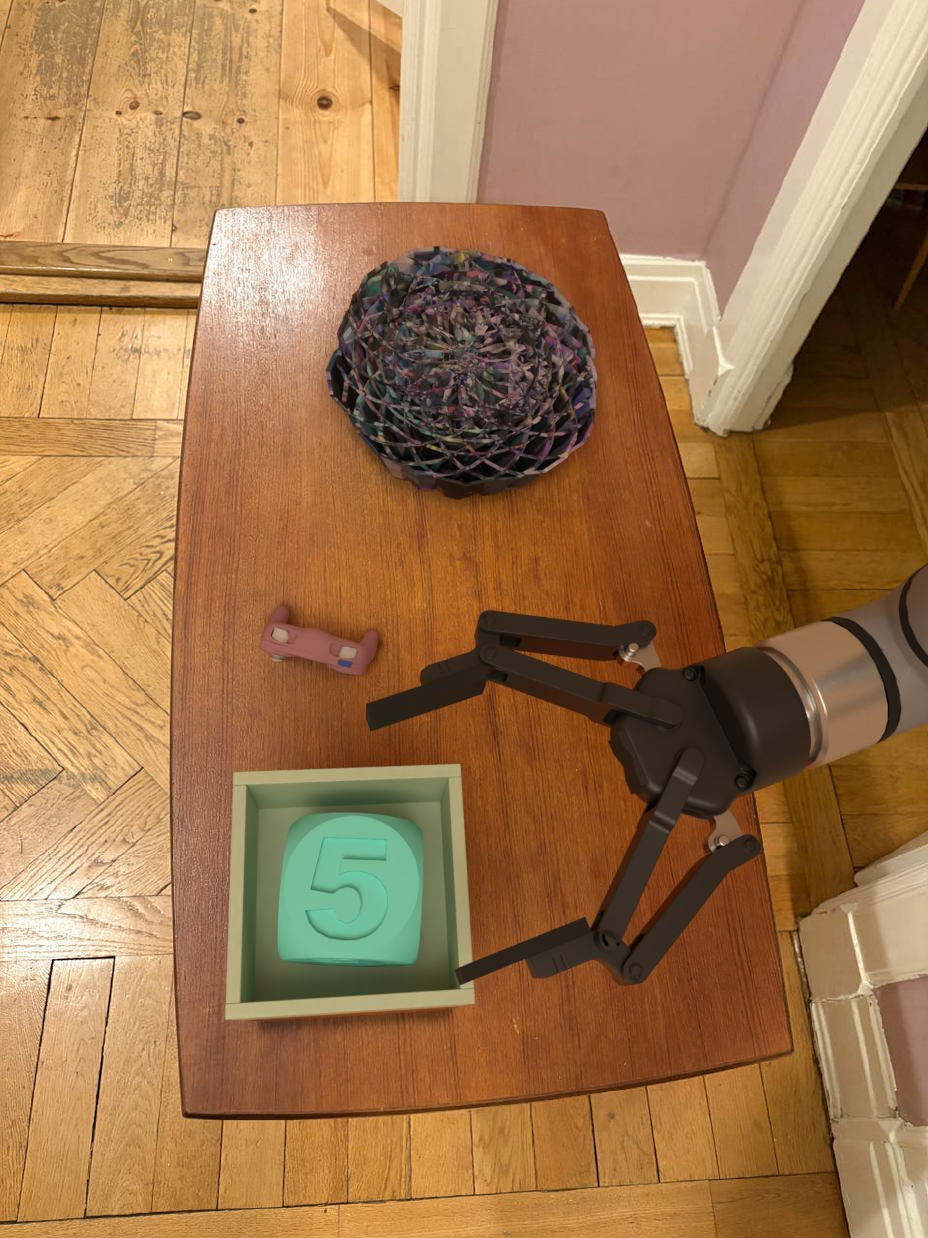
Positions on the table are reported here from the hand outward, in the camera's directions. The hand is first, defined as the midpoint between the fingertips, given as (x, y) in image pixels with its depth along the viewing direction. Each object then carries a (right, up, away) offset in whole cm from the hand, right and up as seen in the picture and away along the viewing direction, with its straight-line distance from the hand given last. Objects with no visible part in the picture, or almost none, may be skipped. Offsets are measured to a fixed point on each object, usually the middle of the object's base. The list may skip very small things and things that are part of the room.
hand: (410, 841), depth 47 cm
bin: (-5, -7, +14) cm, 16 cm away
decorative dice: (-4, -7, +13) cm, 16 cm away
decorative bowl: (+2, +32, +49) cm, 59 cm away
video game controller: (-10, +8, +38) cm, 40 cm away
